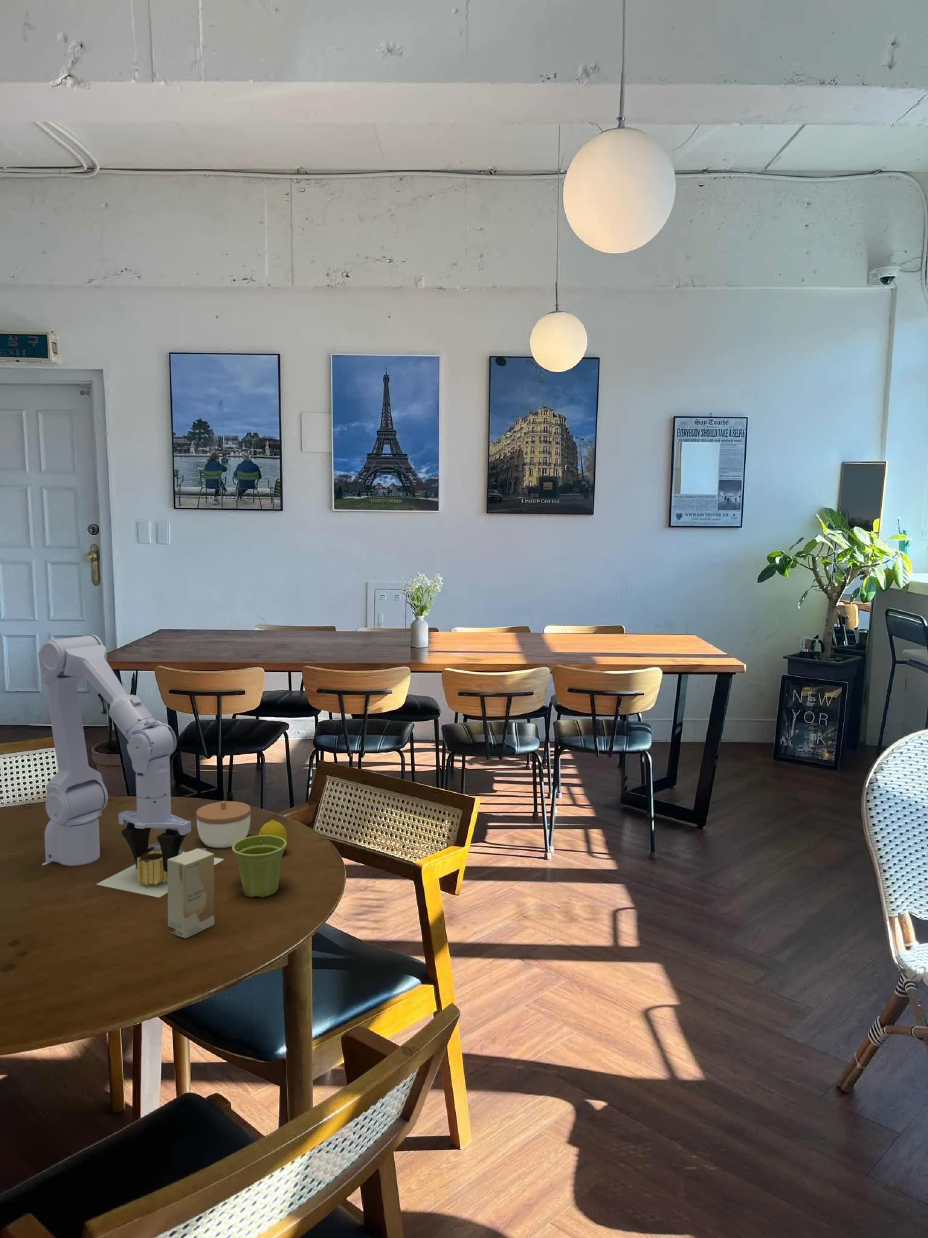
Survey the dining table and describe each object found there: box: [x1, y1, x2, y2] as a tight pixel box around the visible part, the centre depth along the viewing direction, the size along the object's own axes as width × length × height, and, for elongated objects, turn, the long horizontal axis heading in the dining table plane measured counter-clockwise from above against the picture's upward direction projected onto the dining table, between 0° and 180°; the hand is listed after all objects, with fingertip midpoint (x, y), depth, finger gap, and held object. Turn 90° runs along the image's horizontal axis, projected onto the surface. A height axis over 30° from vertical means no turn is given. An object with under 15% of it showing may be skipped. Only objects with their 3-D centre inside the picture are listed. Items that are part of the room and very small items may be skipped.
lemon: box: [258, 819, 288, 851], centre depth 163 cm, size 6×6×8 cm
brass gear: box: [137, 851, 168, 885], centre depth 149 cm, size 6×6×4 cm
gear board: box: [95, 845, 225, 898], centre depth 154 cm, size 14×18×5 cm
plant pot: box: [231, 834, 287, 898], centre depth 149 cm, size 9×9×9 cm
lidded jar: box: [195, 800, 252, 849], centre depth 170 cm, size 11×11×9 cm
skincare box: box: [167, 848, 215, 939], centre depth 135 cm, size 6×4×12 cm
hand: (155, 867), depth 150 cm, fingers closed on brass gear, 6 cm apart
